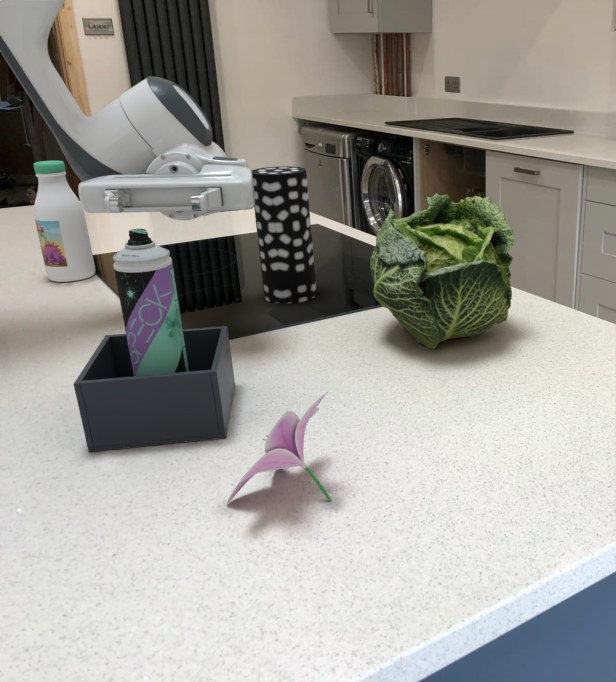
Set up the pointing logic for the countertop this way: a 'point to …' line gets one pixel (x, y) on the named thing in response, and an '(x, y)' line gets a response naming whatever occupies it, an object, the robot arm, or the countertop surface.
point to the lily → (284, 447)
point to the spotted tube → (284, 234)
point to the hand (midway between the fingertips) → (154, 204)
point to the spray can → (150, 306)
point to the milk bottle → (61, 226)
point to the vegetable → (445, 268)
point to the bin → (156, 395)
